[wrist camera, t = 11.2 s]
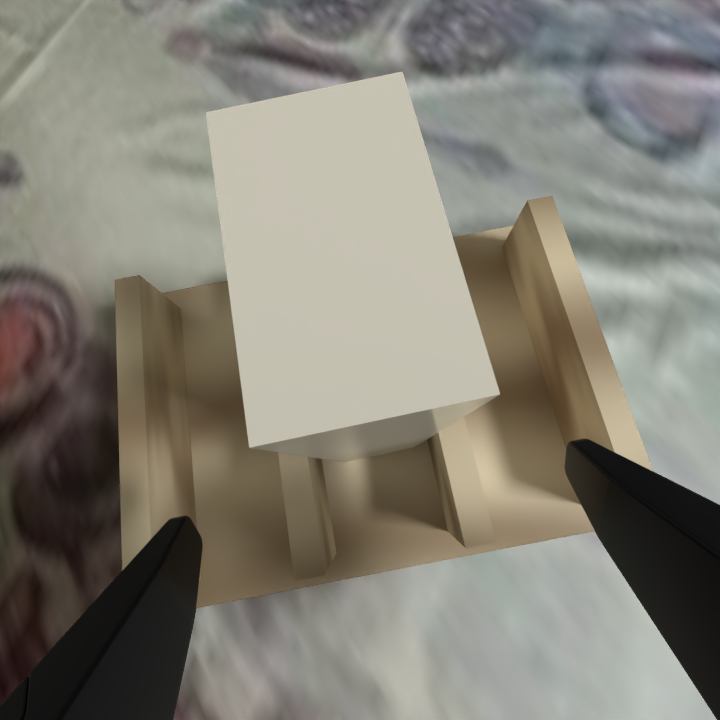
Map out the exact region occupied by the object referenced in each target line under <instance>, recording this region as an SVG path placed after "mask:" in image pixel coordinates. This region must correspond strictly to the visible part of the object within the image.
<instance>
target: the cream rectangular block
mask: <svg viewBox="0 0 720 720" xmlns="http://www.w3.org/2000/svg"><path fill="white" fill-rule="evenodd" d="M206 117H207V125H208V133H209V140H210V148H211V156H212V164H213V171H214V179H215V187H216V195H217V202H218V210H219V218H220V226H221V233H222V241H223V249H224V257H225V264H226V272H227V280H228V287H229V295H230V303H231V311H232V318H233V326H234V334H235V342H236V349H237V357H238V365H239V373H240V380H241V388H242V396H243V404H244V411H245V419H246V427H247V435H248V442H249V448H254V449H260V450H267V451H273V452H280V453H286V454H293V455H299V456H306V457H312V458H319V459H325V460H332V461H338V462H349V461H354V460H359V459H363V458H368V457H373V456H377V455H382V454H387V453H391V452H396V451H401V450H406V449H410V448H414V447H415V446H417V445H419V444H420V443H422V442H424V441H425V440H427V439H428V438H430V437H432V436H433V435H435V434H437V433H438V432H440V431H441V430H443V429H445V428H446V427H448V426H450V425H451V424H453V423H454V422H456V421H458V420H459V419H461V418H463V417H464V416H466V415H467V414H469V413H471V412H472V411H474V410H476V409H477V408H479V407H480V406H482V405H484V404H485V403H487V402H489V401H490V400H492V399H493V398H495V397H497V396H498V395H500V392H499V388H498V385H497V382H496V379H495V375H494V372H493V369H492V365H491V362H490V359H489V355H488V352H487V349H486V346H485V342H484V339H483V336H482V332H481V329H480V326H479V322H478V319H477V316H476V313H475V309H474V306H473V303H472V299H471V296H470V293H469V290H468V286H467V283H466V280H465V276H464V273H463V270H462V266H461V263H460V260H459V257H458V253H457V250H456V247H455V243H454V240H453V237H452V233H451V230H450V227H449V224H448V220H447V217H446V214H445V210H444V207H443V204H442V200H441V197H440V194H439V191H438V187H437V184H436V181H435V177H434V174H433V171H432V167H431V164H430V161H429V158H428V154H427V151H426V148H425V144H424V141H423V138H422V135H421V131H420V128H419V125H418V121H417V118H416V115H415V111H414V108H413V105H412V102H411V98H410V95H409V92H408V88H407V85H406V82H405V78H404V75H403V72H398V73H393V74H389V75H384V76H379V77H374V78H369V79H365V80H360V81H355V82H350V83H345V84H340V85H336V86H331V87H326V88H321V89H316V90H312V91H307V92H302V93H297V94H292V95H287V96H283V97H278V98H273V99H268V100H263V101H259V102H254V103H249V104H244V105H239V106H234V107H230V108H225V109H220V110H215V111H210V112H206Z"/></svg>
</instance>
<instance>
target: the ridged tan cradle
mask: <svg viewBox="0 0 720 720" xmlns="http://www.w3.org/2000/svg"><path fill="white" fill-rule="evenodd" d="M453 240H454V243H455V247H456V250H457V253H458V257H459V260H460V263H461V266H462V270H463V273H464V276H465V280H466V283H467V286H468V290H469V293H470V296H471V299H472V303H473V306H474V309H475V313H476V316H477V319H478V322H479V326H480V329H481V332H482V336H483V339H484V342H485V346H486V349H487V352H488V355H489V359H490V362H491V365H492V369H493V372H494V375H495V379H496V382H497V385H498V388H499V392H500V395H498V396H497V397H495V398H493V399H492V400H490V401H489V402H487V403H485V404H484V405H482V406H480V407H479V408H477V409H476V410H474V411H472V412H471V413H469V414H467V415H466V416H464V417H463V418H461V419H459V420H458V421H456V422H454V423H453V424H451V425H450V426H448V427H446V428H445V429H443V430H441V431H440V432H438V433H437V434H435V435H433V436H432V437H430V438H428V439H427V440H425V441H424V442H422V443H420V444H419V445H417V446H415V447H414V448H410V449H406V450H401V451H396V452H391V453H387V454H382V455H377V456H373V457H368V458H363V459H359V460H354V461H349V462H338V461H332V460H325V459H319V458H312V457H306V456H299V455H293V454H286V453H280V452H273V451H267V450H260V449H254V448H249V442H248V435H247V427H246V419H245V411H244V404H243V396H242V388H241V380H240V373H239V365H238V357H237V349H236V342H235V334H234V326H233V318H232V311H231V303H230V295H229V287H228V281H224V282H218V283H213V284H208V285H203V286H198V287H192V288H187V289H182V290H177V291H172V292H166V293H161V292H160V291H158V290H157V289H156V288H155V287H153V286H152V285H151V284H150V283H148V282H147V281H146V280H145V279H143V278H142V277H141V276H140V275H138V276H133V277H127V278H122V279H117V280H115V311H116V350H117V389H118V428H119V467H120V506H121V545H122V570H123V569H124V568H125V567H126V566H127V565H128V564H129V563H130V562H131V561H132V559H133V558H134V557H135V556H136V555H137V554H138V553H139V552H140V551H141V550H142V548H143V547H144V546H145V545H146V544H147V543H148V542H149V541H150V540H151V538H152V537H153V536H154V535H155V534H156V533H157V532H158V531H159V530H160V529H161V527H162V526H163V525H164V524H165V523H166V522H167V521H168V520H169V519H171V518H174V517H180V516H185V515H186V516H189V517H190V518H191V519H192V521H193V523H194V525H195V527H196V528H197V530H198V532H199V534H200V536H201V538H202V543H203V549H202V558H201V568H200V577H199V586H198V596H197V605H196V608H199V607H204V606H209V605H215V604H220V603H225V602H230V601H235V600H240V599H246V598H251V597H256V596H261V595H266V594H271V593H277V592H282V591H287V590H292V589H297V588H302V587H308V586H313V585H318V584H323V583H328V582H333V581H339V580H344V579H349V578H354V577H359V576H365V575H370V574H375V573H380V572H385V571H390V570H396V569H401V568H406V567H411V566H416V565H421V564H427V563H432V562H437V561H442V560H447V559H452V558H458V557H463V556H468V555H473V554H478V553H484V552H489V551H494V550H499V549H504V548H509V547H515V546H520V545H525V544H530V543H535V542H540V541H546V540H551V539H556V538H561V537H566V536H571V535H577V534H582V533H587V532H592V531H595V530H594V529H593V527H592V525H591V523H590V521H589V519H588V517H587V515H586V513H585V511H584V509H583V507H582V505H581V503H580V501H579V500H578V498H577V496H576V494H575V492H574V490H573V488H572V486H571V484H570V482H569V480H568V478H567V476H566V473H565V468H564V465H565V456H566V447H567V444H568V442H570V441H573V440H578V439H583V438H586V439H589V440H591V441H593V442H595V443H597V444H599V445H601V446H603V447H605V448H607V449H609V450H611V451H613V452H615V453H617V454H619V455H621V456H623V457H625V458H627V459H629V460H631V461H633V462H635V463H637V464H639V465H641V466H643V467H645V468H647V469H649V470H651V471H653V470H652V467H651V464H650V461H649V459H648V456H647V453H646V451H645V448H644V445H643V442H642V440H641V437H640V434H639V431H638V429H637V426H636V423H635V421H634V418H633V415H632V412H631V410H630V407H629V404H628V401H627V399H626V396H625V393H624V391H623V388H622V385H621V382H620V380H619V377H618V374H617V371H616V369H615V366H614V363H613V361H612V358H611V355H610V352H609V350H608V347H607V344H606V341H605V339H604V336H603V333H602V331H601V328H600V325H599V322H598V320H597V317H596V314H595V311H594V309H593V306H592V303H591V301H590V298H589V295H588V292H587V290H586V287H585V284H584V281H583V279H582V276H581V273H580V271H579V268H578V265H577V262H576V260H575V257H574V254H573V251H572V249H571V246H570V243H569V241H568V238H567V235H566V232H565V230H564V227H563V224H562V221H561V219H560V216H559V213H558V211H557V208H556V205H555V202H554V200H553V197H552V196H548V197H543V198H538V199H533V200H528V201H527V202H526V204H525V206H524V208H523V210H522V211H521V213H520V215H519V217H518V219H517V221H516V222H515V224H514V226H509V227H504V228H499V229H494V230H488V231H483V232H478V233H473V234H468V235H462V236H457V237H453Z"/></svg>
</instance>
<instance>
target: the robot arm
mask: <svg viewBox="0 0 720 720" xmlns="http://www.w3.org/2000/svg"><path fill="white" fill-rule="evenodd" d="M564 468H565V473H566V476H567V478H568V480H569V482H570V484H571V486H572V488H573V490H574V492H575V494H576V496H577V498H578V500H579V501H580V503H581V505H582V507H583V509H584V511H585V513H586V515H587V517H588V519H589V521H590V523H591V525H592V527H593V529H594V530H595V532H596V534H597V536H598V538H599V539H600V541H601V542H602V544H603V546H604V547H605V549H606V550H607V552H608V553H609V555H610V556H611V558H612V559H613V561H614V563H615V564H616V566H617V567H618V569H619V570H620V572H621V573H622V575H623V576H624V578H625V579H626V581H627V582H628V584H629V586H630V587H631V589H632V590H633V592H634V593H635V595H636V596H637V598H638V599H639V601H640V602H641V604H642V605H643V607H644V609H645V610H646V612H647V613H648V615H649V616H650V618H651V619H652V621H653V622H654V624H655V625H656V627H657V628H658V630H659V631H660V633H661V635H662V636H663V638H664V639H665V641H666V642H667V644H668V645H669V647H670V648H671V650H672V651H673V653H674V654H675V656H676V658H677V659H678V661H679V662H680V664H681V665H682V667H683V668H684V670H685V671H686V673H687V674H688V676H689V677H690V679H691V680H692V682H693V684H694V685H695V687H696V688H697V690H698V691H699V693H700V694H701V696H702V697H703V699H704V700H705V702H706V703H707V705H708V707H709V708H710V710H711V711H712V713H713V714H714V716H715V717H716V719H717V720H720V505H719V504H717V503H715V502H713V501H711V500H709V499H707V498H705V497H703V496H701V495H699V494H697V493H695V492H693V491H691V490H689V489H687V488H685V487H683V486H681V485H679V484H677V483H675V482H673V481H671V480H669V479H667V478H665V477H663V476H661V475H659V474H657V473H655V472H653V471H651V470H649V469H647V468H645V467H643V466H641V465H639V464H637V463H635V462H633V461H631V460H629V459H627V458H625V457H623V456H621V455H619V454H617V453H615V452H613V451H611V450H609V449H607V448H605V447H603V446H601V445H599V444H597V443H595V442H593V441H591V440H589V439H586V438H583V439H578V440H573V441H570V442H568V444H567V447H566V456H565V465H564ZM202 549H203V543H202V538H201V536H200V534H199V532H198V530H197V528H196V527H195V525H194V523H193V521H192V519H191V518H190V517H189V516H186V515H185V516H180V517H174V518H171V519H169V520H168V521H167V522H166V523H165V524H164V525H163V526H162V527H161V529H160V530H159V531H158V532H157V533H156V534H155V535H154V536H153V537H152V538H151V540H150V541H149V542H148V543H147V544H146V545H145V546H144V547H143V548H142V550H141V551H140V552H139V553H138V554H137V555H136V556H135V557H134V558H133V559H132V561H131V562H130V563H129V564H128V565H127V566H126V567H125V568H124V569H123V570H122V572H121V573H120V574H119V575H118V576H117V577H116V578H115V579H114V580H113V582H112V583H111V584H110V585H109V586H108V587H107V588H106V589H105V590H104V591H103V593H102V594H101V595H100V596H99V597H98V598H97V599H96V600H95V601H94V603H93V604H92V605H91V606H90V607H89V608H88V609H87V610H86V611H85V612H84V614H83V615H82V616H81V617H80V618H79V619H78V620H77V621H76V622H75V623H74V625H73V626H72V627H71V628H70V629H69V630H68V631H67V632H66V633H65V635H64V636H63V637H62V638H61V639H60V640H59V641H58V642H57V643H56V644H55V646H54V647H53V648H52V649H51V650H50V651H49V652H48V653H47V654H46V655H45V657H44V658H43V659H42V660H41V661H40V662H39V663H38V664H37V665H36V667H35V668H34V669H33V670H32V671H31V672H30V674H29V677H26V678H24V680H23V681H22V682H21V683H20V684H19V685H18V686H17V687H16V688H15V689H14V691H13V692H12V693H11V694H10V695H9V696H8V697H7V698H6V699H5V700H4V702H3V703H2V704H1V705H0V720H173V718H174V714H175V709H176V704H177V700H178V695H179V690H180V685H181V681H182V676H183V671H184V667H185V662H186V657H187V652H188V648H189V643H190V638H191V633H192V629H193V624H194V618H195V612H196V605H197V596H198V586H199V577H200V568H201V558H202Z"/></svg>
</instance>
